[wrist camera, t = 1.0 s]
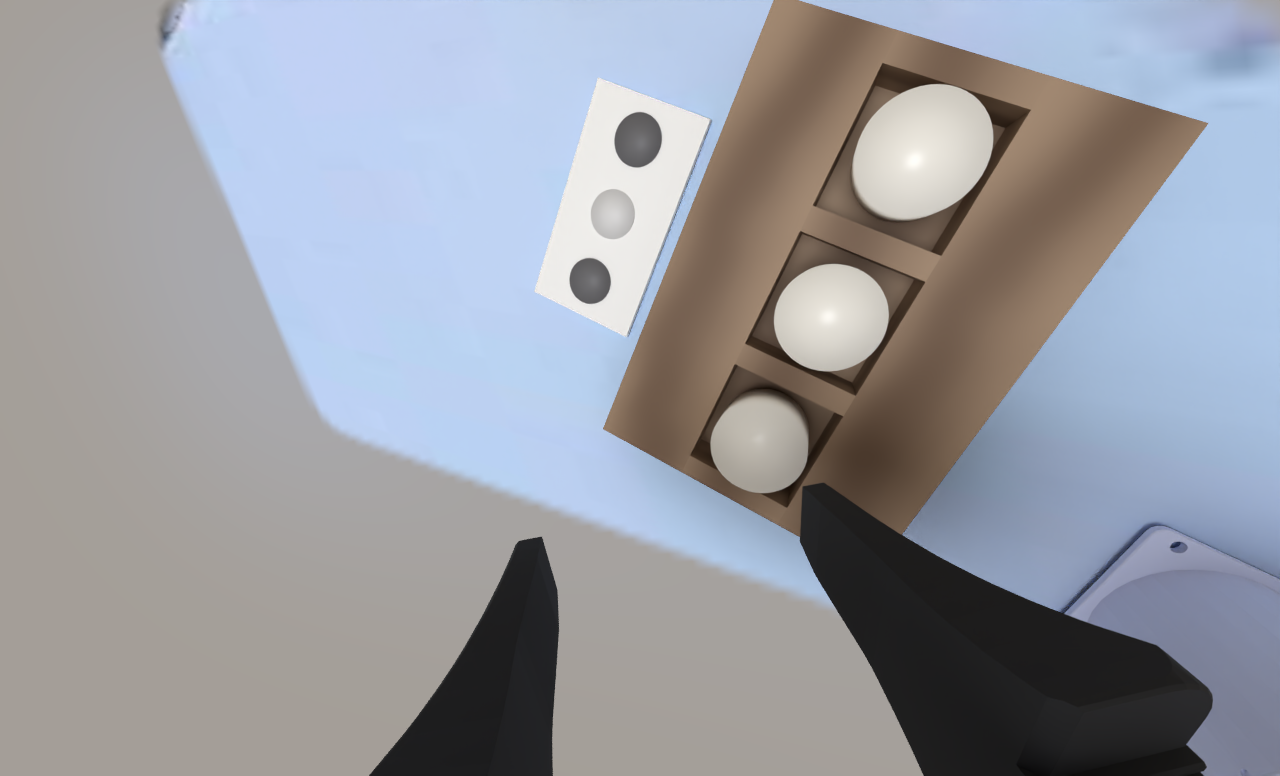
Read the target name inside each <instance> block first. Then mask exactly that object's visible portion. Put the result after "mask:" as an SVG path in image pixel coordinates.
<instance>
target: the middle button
mask: <svg viewBox="0 0 1280 776" xmlns="http://www.w3.org/2000/svg"><path fill="white" fill-rule="evenodd" d="M888 319H889V311H888V304H887V300H886V297H885V295H884V293H883V291H882V289H881V288H880V286H879V285H878V284H877V282H876V281H875V280H874V279H873V278H871V277H870V276H869V275H868V274H866V273H865V272H863V271H861V270H859V269H857V268H854V267H851V266H847V265H842V264H824V265H819V266H816V267H813V268H811V269H809V270H807V271H805V272H803V273H802V274H800V275H799V276H797V277H796V278H795V279H793V280H792V281H791V282H790V283H789V284H788V285H787V287H786V288H785V289H784V291H783V292H782V294H781V296H780V297H779V300H778V302H777V305H776V309H775V314H774V327H775V333H776V336H777V339H778V341H779V343H780V345H781V347H782V348H783V350H784V351H785V352H786V353H787V354H788V355H789V356H790V357H791V358H792V359H793V360H794V361H796V362H797V363H799V364H801V365H803V366H805V367H807V368H810V369H814V370H819V371H838V370H843V369H847V368H849V367H852V366H854V365H856V364H858V363H860V362H862V361H863V360H865V359H866V358H867V357H869V356H870V355H871V354H872V353H873V352H874V351H875V350H876V348H877V347H878V346H879V344H880V343H881V341H882V339H883V337H884V335H885V332H886V330H887V326H888Z"/></svg>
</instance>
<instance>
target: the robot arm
mask: <svg viewBox="0 0 1280 776" xmlns="http://www.w3.org/2000/svg"><path fill="white" fill-rule="evenodd" d="M1179 541H1180V542H1181V544H1180V545H1179V546H1178V547H1176V548H1170V546H1171V544H1172V543H1174V542H1179ZM800 543H801V545H802V547H803V549H804V551H805V554H806V556H807V558H808V560H809V562H810V565H811V567H812V569H813V571H814V573H815V575H816V577H817V578H818V580H819V582H820V583H821V585H822V587H823V588H824V590H825V592H826V593H827V595H828V597H829V598H830V600H831V601H832V603H833V605H834V606H835V608H836V609H837V611H838V613H839V614H840V616H841V617H842V619H843V621H844V622H845V624H846V626H847V627H848V629H849V630H850V632H851V633H852V635H853V637H854V638H855V640H856V642H857V643H858V645H859V646H860V648H861V650H862V651H863V653H864V655H865V657H866V658H867V660H868V662H869V664H870V665H871V667H872V669H873V671H874V673H875V675H876V677H877V679H878V680H879V683H880V685H881V687H882V689H883V691H884V693H885V695H886V697H887V699H888V701H889V703H890V704H891V706H892V709H893V711H894V713H895V715H896V717H897V719H898V721H899V723H900V725H901V728H902V730H903V732H904V734H905V736H906V738H907V740H908V742H909V744H910V746H911V748H912V751H913V753H914V755H915V757H916V759H917V762H918V764H919V766H920V768H921V771H922V773H923V775H924V776H1280V579H1279V578H1276V577H1274V576H1272V575H1270V574H1268V573H1266V572H1264V571H1261V570H1259V569H1257V568H1255V567H1253V566H1251V565H1248V564H1246V563H1244V562H1242V561H1240V560H1238V559H1236V558H1233V557H1231V556H1229V555H1227V554H1225V553H1223V552H1221V551H1218V550H1216V549H1214V548H1212V547H1210V546H1208V545H1205V544H1203V543H1201V542H1199V541H1197V540H1195V539H1193V538H1190V537H1188V536H1186V535H1184V534H1182V533H1180V532H1178V531H1175V530H1173V529H1171V528H1169V527H1165V526H1154V527H1151V528H1149V529H1148V530H1146V531H1145V532H1144V533H1143V534H1142V535H1141V536H1140V537H1139V538H1138V539H1137V540H1136V541H1135V542H1134V543H1133V544H1132V545H1131V546H1130V547H1129V548H1128V550H1127V551H1126V552H1125V553H1124V554H1123V555H1122V556H1121V557H1120V558H1119V559H1118V560H1117V561H1116V562H1115V563H1114V564H1113V565H1112V566H1111V567H1110V568H1109V569H1108V570H1107V571H1106V572H1105V573H1104V574H1103V575H1102V576H1101V577H1100V578H1099V579H1098V580H1097V581H1096V582H1095V583H1094V584H1093V585H1092V586H1091V587H1090V588H1089V589H1088V590H1087V591H1086V592H1085V593H1084V594H1083V595H1082V596H1081V597H1080V598H1079V599H1078V600H1077V601H1076V602H1075V603H1074V604H1073V605H1072V606H1071V607H1070V608H1069V609H1068V610H1067V611H1066V612H1065V613H1064V614H1063V613H1061V612H1058V611H1055V610H1052V609H1050V608H1047V607H1045V606H1042V605H1040V604H1037V603H1035V602H1033V601H1030V600H1028V599H1025V598H1023V597H1021V596H1018V595H1016V594H1014V593H1012V592H1009V591H1007V590H1005V589H1003V588H1000V587H998V586H996V585H994V584H991V583H989V582H987V581H985V580H983V579H981V578H979V577H977V576H975V575H973V574H971V573H969V572H967V571H965V570H963V569H961V568H959V567H957V566H955V565H953V564H951V563H949V562H947V561H946V560H944V559H942V558H940V557H938V556H936V555H935V554H933V553H931V552H929V551H928V550H926V549H924V548H923V547H921V546H919V545H918V544H916V543H914V542H912V541H911V540H909V539H908V538H906V537H904V536H903V535H901V534H899V533H898V532H896V531H895V530H893V529H892V528H890V527H888V526H887V525H885V524H884V523H882V522H881V521H879V520H878V519H876V518H875V517H873V516H872V515H870V514H869V513H867V512H866V511H864V510H863V509H862V508H860V507H859V506H857V505H856V504H854V503H853V502H851V501H850V500H849V499H847V498H846V497H844V496H843V495H841V494H840V493H839V492H837V491H836V490H834V489H833V488H831V487H830V486H828V485H827V484H825V483H824V482H823V483H817V484H812V485H807V486H802V506H801V528H800ZM558 620H559V619H558V595H557V587H556V584H555V580H554V577H553V573H552V570H551V567H550V563H549V560H548V556H547V553H546V549H545V546H544V542H543V539H542V537H538V538H532V539H527V540H522V541H519V542H518V543H517V544H516V545H515V548H514V551H513V553H512V555H511V558H510V560H509V562H508V565H507V567H506V569H505V571H504V574H503V576H502V578H501V580H500V582H499V584H498V586H497V588H496V590H495V592H494V594H493V596H492V598H491V600H490V602H489V604H488V606H487V608H486V610H485V612H484V614H483V616H482V618H481V619H480V621H479V623H478V625H477V626H476V628H475V630H474V632H473V633H472V635H471V637H470V639H469V641H468V642H467V644H466V646H465V647H464V649H463V651H462V652H461V654H460V655H459V657H458V659H457V660H456V662H455V664H454V665H453V667H452V668H451V669H450V671H449V672H448V674H447V675H446V677H445V678H444V680H443V681H442V683H441V684H440V686H439V687H438V689H437V690H436V692H435V693H434V694H433V696H432V697H431V698H430V700H429V701H428V703H427V704H426V705H425V707H424V708H423V709H422V711H421V712H420V714H419V715H418V716H417V718H416V719H415V720H414V722H413V723H412V724H411V726H410V727H409V728H408V729H407V731H406V732H405V733H404V734H403V736H402V737H401V738H400V739H399V740H398V742H397V743H396V744H395V745H394V746H393V748H392V749H391V750H390V751H389V752H388V754H387V755H386V756H385V757H384V758H383V760H382V761H381V762H380V763H379V765H378V766H377V767H376V768H375V769H374V770H373V772H372V773H371V774H370V775H369V776H553V773H552V772H553V768H552V725H553V707H554V693H555V679H556V665H557V649H558V634H559V621H558Z"/></svg>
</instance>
